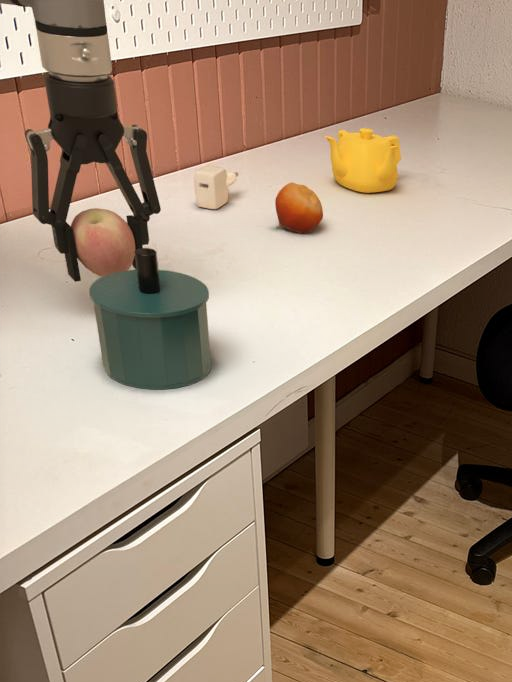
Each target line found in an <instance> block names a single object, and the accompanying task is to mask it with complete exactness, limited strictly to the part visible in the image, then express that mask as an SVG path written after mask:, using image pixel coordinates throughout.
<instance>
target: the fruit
mask: <svg viewBox="0 0 512 682" xmlns="http://www.w3.org/2000/svg"><path fill="white" fill-rule="evenodd" d="M274 201H275V202H274V203H275V211H276V212H275V213H276V216H277V220H278V225H277V226H276V228H275V229H276V230H277V229H279V228H281V227H284V228H286V229H288V230H289V231H292V232H296V233H300V234H307V233H310V232H312V231H313V230H314V229H315V228H316V227H318V226H319V225H320V223H321V221H322V220H323V218H324V210H323V205H322V203H321V200H320V198H319V197H318V195H317V194H316V193H315V192H314V190H313V189H310V188H309V187H308V186H306V185H304V184H299V183H295V182H289V183H287V184H285V185H284V186H283V187H282V188H281V189H280V190H279V191H278V193H277V195H276V197H275V200H274Z"/></svg>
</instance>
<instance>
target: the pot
mask: <svg viewBox="0 0 512 682" xmlns="http://www.w3.org/2000/svg"><path fill="white" fill-rule="evenodd" d="M93 309H94V314H95V321H96V327H97V333H98V340H99V347H100V354H101V360H102V361H101V362H102V366H103V368H104V371H105V373H106V374H107V376H108V377H109V378H111V379H112V380H113V381H115V382H116V383H119V384H122V385H125V386H128V387H132V388H137V389H144V390H172V389H179V388H183V387H187V386H191V385H193V384H196V383H198V382H200V381H202V380H203V379H205V378H206V377H207V375H209V373H210V371H211V369H212V361H211V360H212V359H211V347H210V334H209V319H208V308H207V302H206V303H205V304H204V305H203V306H202V307H200V308H199V309H197V310H194V311H192V312H189V313H186V314H181V315H176V316H170V317H157V318H146V317H133V316H126V315H121V314H117V313H113V312H110V311H107V310H105V309H103V308H101V307H99V306H97V305H96V304H95V303H94V302H93Z"/></svg>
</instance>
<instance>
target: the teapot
mask: <svg viewBox="0 0 512 682" xmlns="http://www.w3.org/2000/svg"><path fill="white" fill-rule="evenodd" d="M323 137H324V138H325V139H326V140H327V142H328V143H329V147H330V164H331V172H332V175H333V177H334V179H335V181H336V182H337V183H338V184H339V185H341V186H343V187H345V188H346V189H349V190H352V191H355V192H360V193H368V194H369V193H380V192H386V191H390V190H392V189H393V188H394V187H395V186H396V184H397V182H398V180H399V179H398V178H399V177H398V176H399V173H398V164H399V163H400V161H402V154H401V146H400V137H398V136H396V135H389V136H385V137H383V136H381V135H378V134H375V133H374V130H373V129H371V128H367V127H361V128H359V132H358V131H357V132H349V131H347V130H345V129H340V130H339V131H337V140H336V139H335V138H334V137H331V136H326V135H324V136H323Z"/></svg>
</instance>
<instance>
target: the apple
mask: <svg viewBox="0 0 512 682" xmlns="http://www.w3.org/2000/svg"><path fill="white" fill-rule="evenodd" d="M70 226H71V227H72V228H73V234H74V241H75V247H76V253H77V259H78V262H80V263H81V265H82V266H83V267H84V268H85V269H87V270H88V271H90V272H91V273H93V274H95V275H96V276H98V277H100V278H102V277H104V276H106V275H109V274H113V273H117V272H122V271H128V270H130V268H131V266H133V264H132V263H133V260H134V256H135V240H134V236H133V233H132V231H131V229H130V227H129V225H128V224H127V221H126V220H125V219H124V218H123V217H122V216H121V215H119V214H118V213H117V212H114V211H112V210H110V209H106V208H95V207H93V208H89V209H88V208H87V209H84V210H82V211H80V212H79V213H77V214H76V215H75V216H74V218H73V220H72V222H71V224H70Z"/></svg>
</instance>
